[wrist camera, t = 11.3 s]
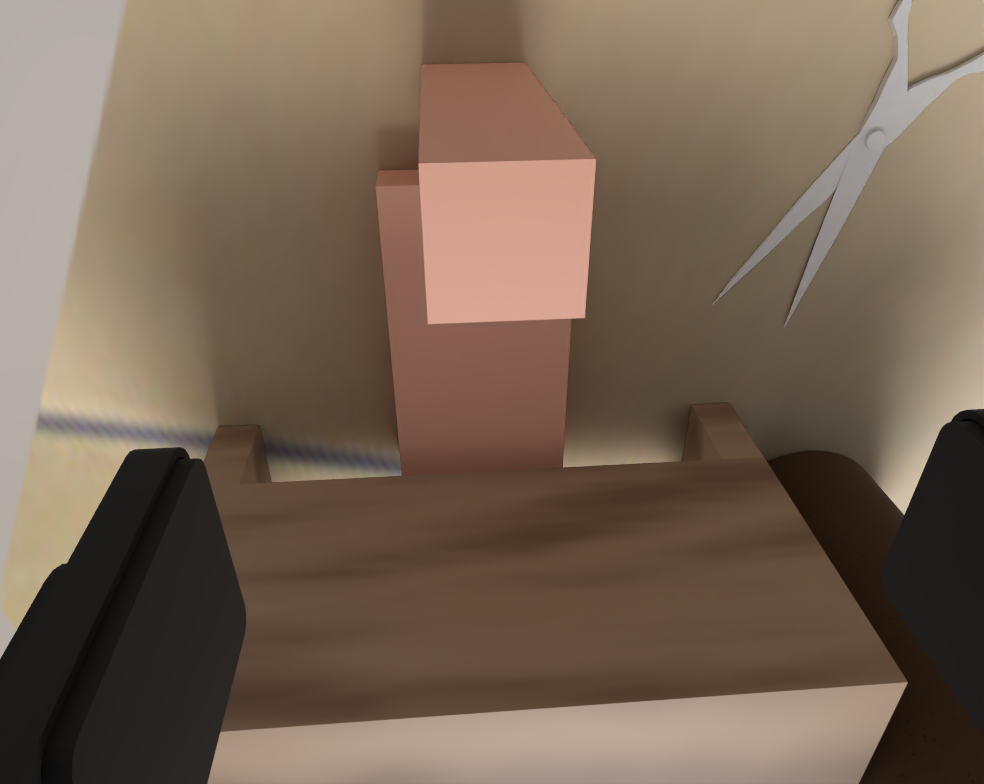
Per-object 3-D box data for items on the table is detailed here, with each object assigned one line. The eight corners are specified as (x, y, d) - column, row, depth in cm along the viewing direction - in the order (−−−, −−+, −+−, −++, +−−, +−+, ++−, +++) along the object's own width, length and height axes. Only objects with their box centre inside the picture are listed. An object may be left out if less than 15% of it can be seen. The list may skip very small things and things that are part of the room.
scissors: (1166, -82, 27) (836, 358, 36) (1149, -81, 28) (828, 350, 37) (954, -234, 24) (654, 286, 33) (940, -229, 25) (649, 279, 34)
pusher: (369, 65, 28) (327, 165, 16) (575, 61, 28) (683, 156, 16) (404, 458, 38) (394, 696, 26) (555, 450, 38) (612, 680, 27)
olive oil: (863, 410, 39) (1386, 986, 18) (896, 536, 44) (1325, 1092, 23) (676, 488, 41) (946, 1089, 20) (729, 599, 46) (984, 1165, 25)
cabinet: (218, 426, 36) (86, 741, 22) (729, 402, 38) (907, 682, 24) (248, 544, 40) (154, 869, 26) (705, 518, 42) (844, 811, 28)
